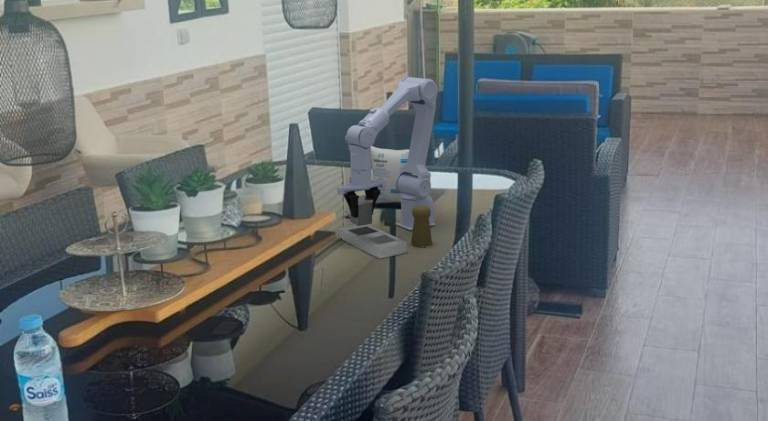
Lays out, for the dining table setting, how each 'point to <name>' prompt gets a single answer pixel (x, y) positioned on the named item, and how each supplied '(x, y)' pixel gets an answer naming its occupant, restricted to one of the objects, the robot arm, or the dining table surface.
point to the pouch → (388, 171)
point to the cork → (421, 227)
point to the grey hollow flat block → (373, 241)
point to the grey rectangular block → (363, 211)
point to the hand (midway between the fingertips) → (362, 215)
